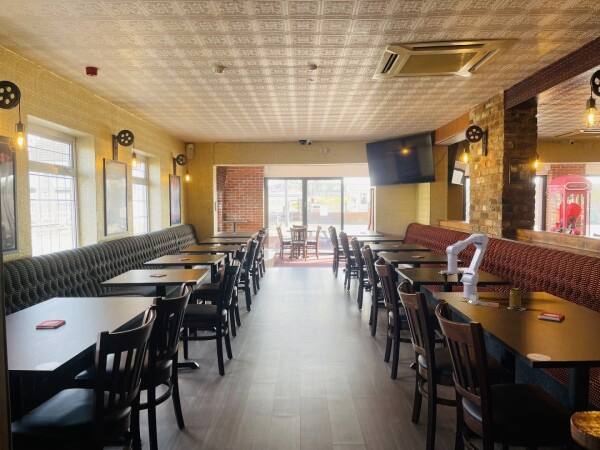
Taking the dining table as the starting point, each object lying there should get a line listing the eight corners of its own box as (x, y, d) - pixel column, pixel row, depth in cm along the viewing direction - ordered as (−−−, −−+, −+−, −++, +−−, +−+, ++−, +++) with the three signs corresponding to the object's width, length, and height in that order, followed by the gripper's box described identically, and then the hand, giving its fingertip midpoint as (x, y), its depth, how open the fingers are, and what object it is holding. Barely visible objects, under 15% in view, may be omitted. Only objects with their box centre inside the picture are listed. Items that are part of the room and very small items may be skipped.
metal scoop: (466, 304, 271) (466, 297, 271) (470, 302, 277) (470, 295, 277) (496, 308, 260) (496, 301, 259) (500, 306, 265) (500, 299, 265)
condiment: (512, 306, 264) (512, 287, 263) (526, 309, 257) (526, 289, 257) (506, 308, 259) (506, 288, 259) (521, 311, 252) (521, 290, 252)
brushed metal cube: (478, 300, 272) (478, 293, 272) (475, 301, 269) (475, 294, 269) (472, 299, 274) (472, 293, 274) (469, 300, 272) (469, 294, 271)
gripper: (462, 263, 286) (462, 283, 287) (439, 263, 288) (439, 283, 288) (465, 264, 279) (465, 285, 280) (442, 264, 281) (442, 285, 281)
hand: (452, 284), depth 284 cm, fingers open, 7 cm apart
